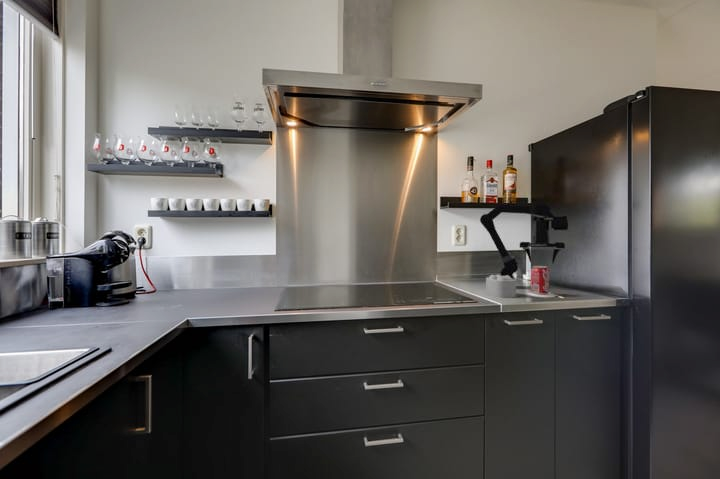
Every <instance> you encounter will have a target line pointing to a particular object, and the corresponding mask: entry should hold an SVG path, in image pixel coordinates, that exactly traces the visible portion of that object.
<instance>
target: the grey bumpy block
mask: <svg viewBox="0 0 720 479" xmlns="http://www.w3.org/2000/svg"><path fill="white" fill-rule="evenodd" d="M514 279H515V278H514ZM514 279H512V278H511V277H510V276H508V275H506V276H501V274H495V275H494V274H491V275H489V276H487V277H485V294H486V295H487V296H490V297H493V298H498V297H500V298H499V299H501V298H502V299H507V297H514V298H517V280H516V279H515V280H514Z"/></svg>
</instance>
